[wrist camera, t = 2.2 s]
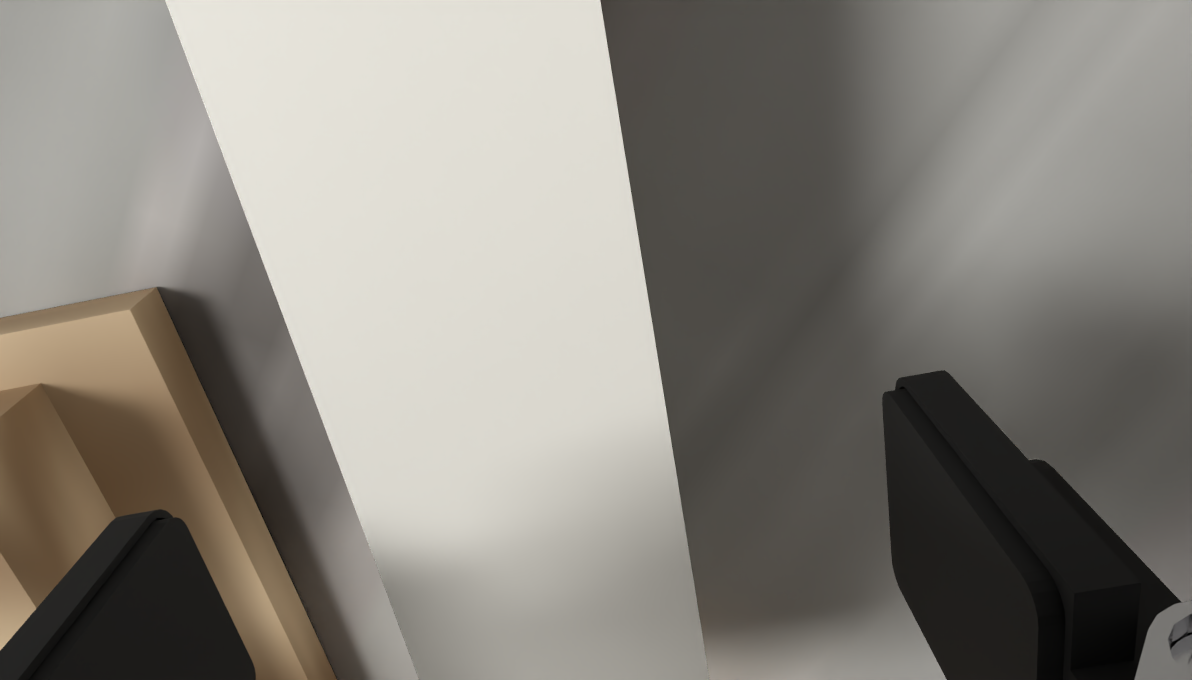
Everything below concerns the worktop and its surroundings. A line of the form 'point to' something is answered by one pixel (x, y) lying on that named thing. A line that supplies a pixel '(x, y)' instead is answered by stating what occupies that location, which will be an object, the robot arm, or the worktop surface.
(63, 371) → the cradle
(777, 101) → the worktop surface
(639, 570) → the white rectangular block
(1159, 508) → the worktop surface
